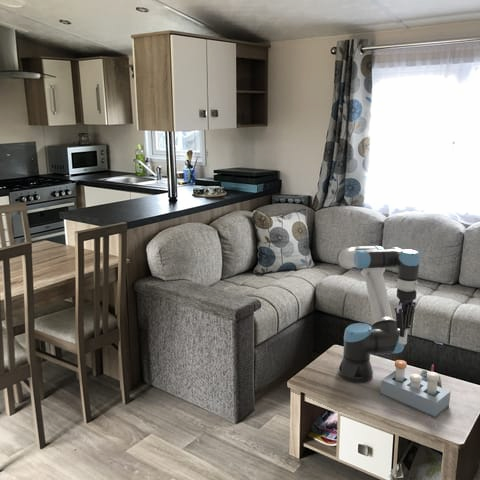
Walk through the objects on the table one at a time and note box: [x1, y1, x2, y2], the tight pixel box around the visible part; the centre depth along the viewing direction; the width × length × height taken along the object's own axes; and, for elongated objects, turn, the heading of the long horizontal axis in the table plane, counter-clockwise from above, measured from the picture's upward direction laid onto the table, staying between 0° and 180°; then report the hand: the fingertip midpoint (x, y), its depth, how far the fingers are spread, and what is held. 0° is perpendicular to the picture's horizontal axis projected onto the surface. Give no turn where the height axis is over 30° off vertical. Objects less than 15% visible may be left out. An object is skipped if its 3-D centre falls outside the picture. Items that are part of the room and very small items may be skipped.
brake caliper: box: [419, 364, 443, 388], centre depth 216 cm, size 11×11×12 cm
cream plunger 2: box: [427, 371, 440, 397], centre depth 200 cm, size 5×5×9 cm
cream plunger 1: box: [409, 373, 422, 390], centre depth 205 cm, size 5×5×9 cm
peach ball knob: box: [394, 359, 408, 383], centre depth 209 cm, size 5×5×9 cm
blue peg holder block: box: [379, 370, 451, 420], centre depth 206 cm, size 24×12×7 cm, turn 43°
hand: (402, 343), depth 206 cm, fingers closed
